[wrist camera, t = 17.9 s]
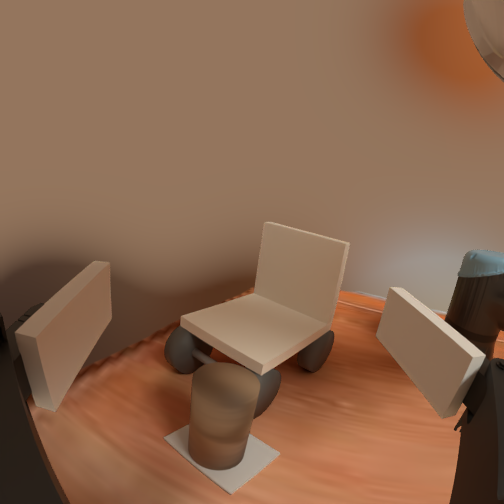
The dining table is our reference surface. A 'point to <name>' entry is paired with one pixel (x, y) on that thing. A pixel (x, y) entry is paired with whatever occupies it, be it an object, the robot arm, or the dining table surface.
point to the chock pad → (235, 477)
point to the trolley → (271, 312)
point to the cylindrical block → (221, 414)
